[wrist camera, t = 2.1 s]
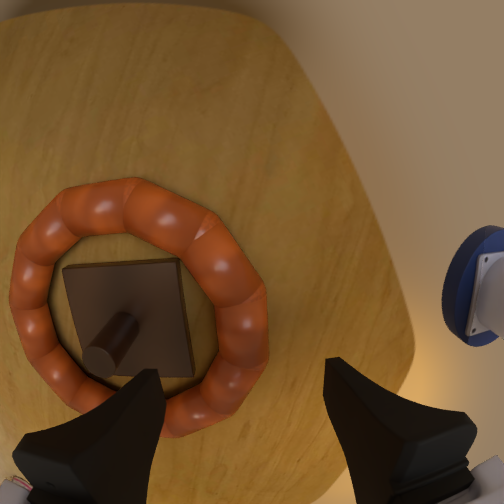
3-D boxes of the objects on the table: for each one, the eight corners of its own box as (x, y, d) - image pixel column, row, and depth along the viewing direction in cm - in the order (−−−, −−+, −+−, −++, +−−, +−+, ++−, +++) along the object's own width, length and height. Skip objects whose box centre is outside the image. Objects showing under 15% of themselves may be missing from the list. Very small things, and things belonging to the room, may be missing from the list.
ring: (257, 166, 17) (261, 163, 14) (270, 416, 21) (273, 443, 18) (9, 201, 17) (-17, 206, 14) (65, 407, 21) (52, 428, 18)
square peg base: (179, 257, 18) (155, 288, 13) (195, 369, 20) (184, 423, 15) (68, 264, 18) (21, 291, 13) (94, 366, 20) (64, 410, 14)
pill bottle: (44, 498, 26) (27, 534, 18) (24, 490, 26) (6, 523, 17) (28, 480, 25) (8, 518, 16) (8, 472, 25) (-12, 506, 16)
